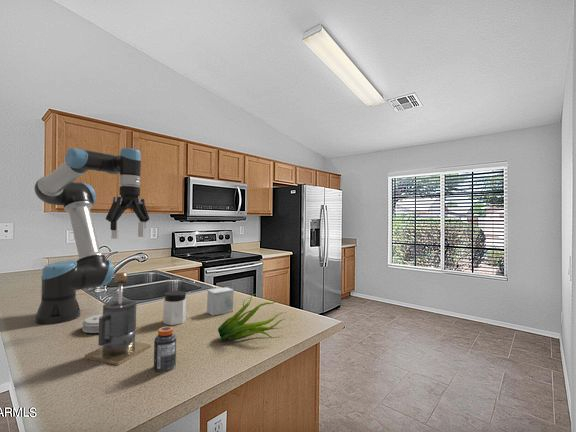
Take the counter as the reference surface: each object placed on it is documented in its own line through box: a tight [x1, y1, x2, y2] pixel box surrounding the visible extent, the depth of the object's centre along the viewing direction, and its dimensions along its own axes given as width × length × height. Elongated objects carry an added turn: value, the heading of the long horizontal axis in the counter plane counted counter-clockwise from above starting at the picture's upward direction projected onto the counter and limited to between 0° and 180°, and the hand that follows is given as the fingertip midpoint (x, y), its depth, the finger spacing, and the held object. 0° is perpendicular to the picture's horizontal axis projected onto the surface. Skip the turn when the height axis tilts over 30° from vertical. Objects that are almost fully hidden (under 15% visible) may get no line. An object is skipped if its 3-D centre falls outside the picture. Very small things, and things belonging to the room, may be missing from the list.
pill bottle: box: [153, 326, 177, 373], centre depth 88 cm, size 6×6×11 cm
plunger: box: [113, 272, 128, 305], centre depth 97 cm, size 4×4×18 cm
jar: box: [162, 290, 187, 326], centre depth 126 cm, size 9×8×12 cm
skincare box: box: [206, 287, 234, 317], centre depth 140 cm, size 10×6×10 cm, turn 131°
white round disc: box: [81, 313, 103, 334], centre depth 117 cm, size 13×13×5 cm
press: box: [84, 299, 151, 366], centre depth 97 cm, size 13×14×16 cm
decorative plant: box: [217, 292, 294, 342], centre depth 116 cm, size 18×30×15 cm, turn 98°
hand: (128, 237), depth 125 cm, fingers open, 13 cm apart
